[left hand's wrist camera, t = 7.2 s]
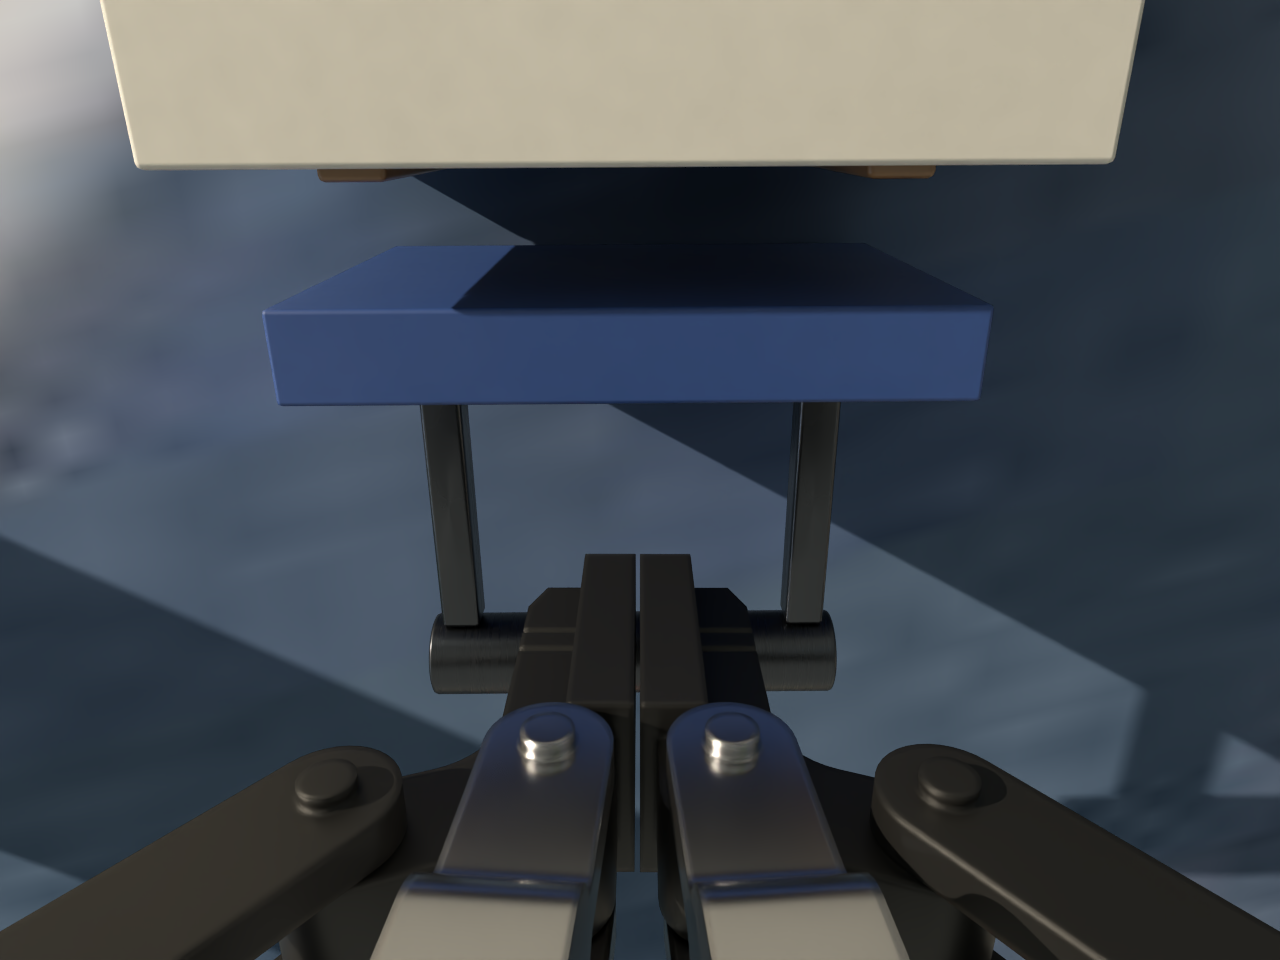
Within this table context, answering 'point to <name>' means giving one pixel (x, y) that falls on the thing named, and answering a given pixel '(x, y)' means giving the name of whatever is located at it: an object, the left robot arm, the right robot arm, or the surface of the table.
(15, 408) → the table surface
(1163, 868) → the left robot arm
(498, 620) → the drawer
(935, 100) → the cream box
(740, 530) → the table surface
